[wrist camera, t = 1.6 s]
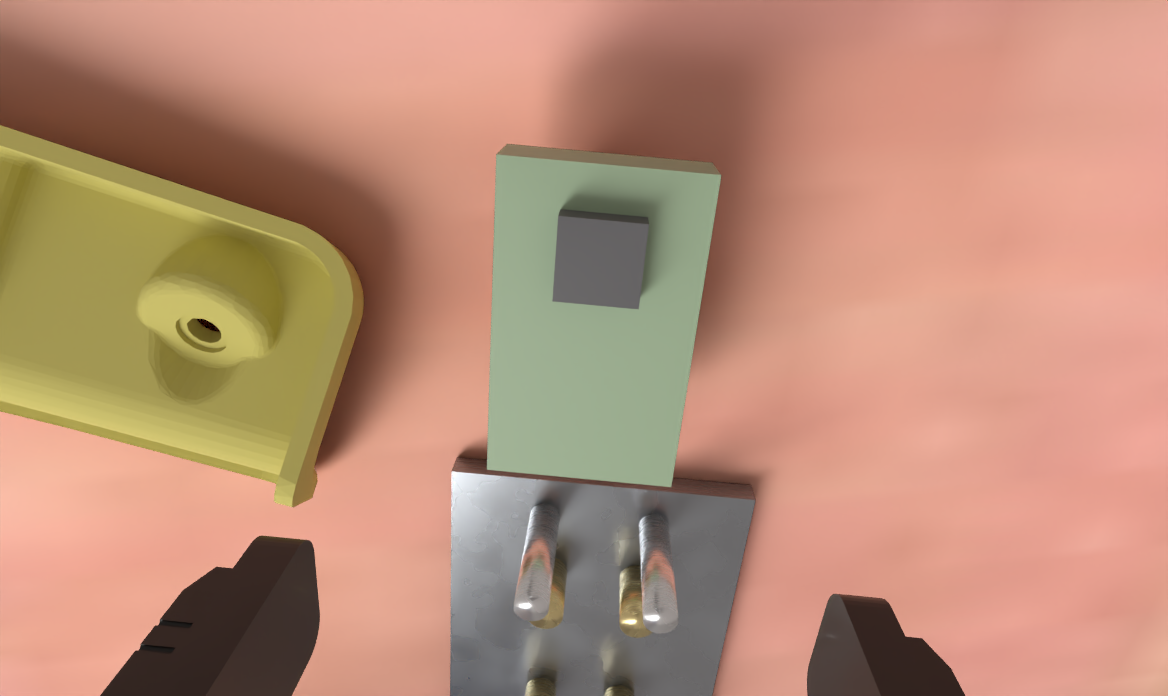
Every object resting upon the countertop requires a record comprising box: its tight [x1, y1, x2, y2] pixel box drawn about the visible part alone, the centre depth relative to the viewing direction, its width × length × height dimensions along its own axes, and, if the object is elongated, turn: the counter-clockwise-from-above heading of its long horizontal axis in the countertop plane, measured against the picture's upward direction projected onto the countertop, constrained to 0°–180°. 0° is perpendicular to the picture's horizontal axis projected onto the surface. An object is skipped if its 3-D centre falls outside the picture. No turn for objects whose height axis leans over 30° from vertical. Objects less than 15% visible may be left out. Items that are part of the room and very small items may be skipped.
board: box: [487, 144, 721, 487], centre depth 21 cm, size 10×6×3 cm, turn 175°
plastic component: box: [0, 125, 364, 507], centre depth 24 cm, size 20×7×10 cm
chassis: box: [450, 457, 755, 696], centre depth 29 cm, size 16×12×6 cm
